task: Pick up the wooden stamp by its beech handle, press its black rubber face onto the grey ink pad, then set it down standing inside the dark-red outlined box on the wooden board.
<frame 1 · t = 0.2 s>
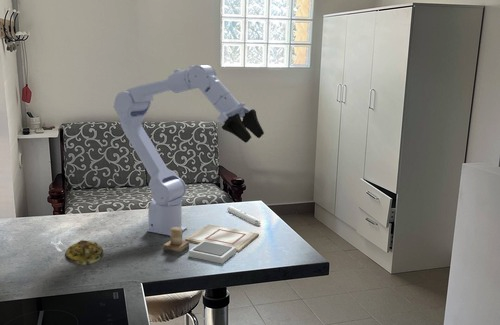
hand: (255, 137, 130), 31 cm above the counter, tool tilted 45°, fingers open, 7 cm apart
stamp: (176, 250, 133), on the counter
ink pad: (212, 254, 131), on the counter
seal: (85, 255, 129), on the counter
marker: (244, 219, 161), on the counter
wooden board: (222, 238, 143), on the counter
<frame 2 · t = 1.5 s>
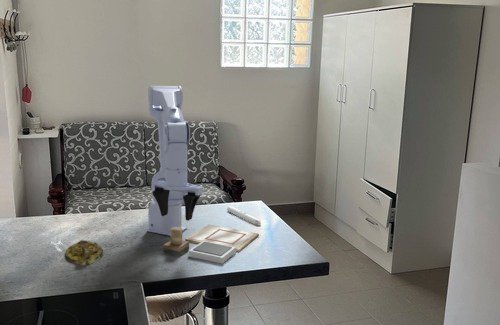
hand: (176, 217, 131), 9 cm above the counter, tool pointing down, fingers open, 7 cm apart
nothing on the counter moved.
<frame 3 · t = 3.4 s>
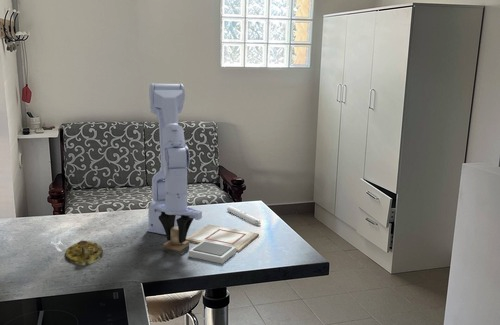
hand: (176, 240, 132), 3 cm above the counter, tool pointing down, fingers closed on stamp, 3 cm apart
stamp: (176, 250, 133), on the counter, touching gripper
everything else where it was.
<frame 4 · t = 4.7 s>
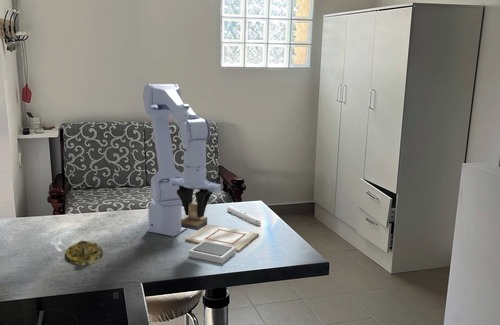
hand: (194, 215, 130), 10 cm above the counter, tool pointing down, fingers closed on stamp, 3 cm apart
stamp: (194, 226, 130), point 8 cm above the counter, touching gripper
everything else where it was.
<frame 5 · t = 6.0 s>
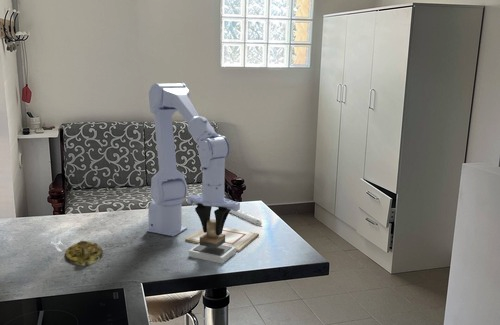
hand: (212, 232, 130), 6 cm above the counter, tool pointing down, fingers closed on stamp, 3 cm apart
stamp: (212, 243, 130), point 3 cm above the counter, touching gripper
everything else where it was.
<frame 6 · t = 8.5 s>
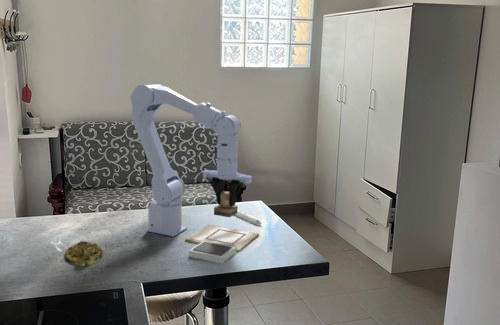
hand: (226, 204, 140), 10 cm above the counter, tool pointing down, fingers closed on stamp, 3 cm apart
stamp: (225, 213, 141), point 8 cm above the counter, touching gripper
everything else where it was.
when the fingers open (4 cm above the counter, at t = 10.5 s): stamp stays where it is, resting on wooden board.
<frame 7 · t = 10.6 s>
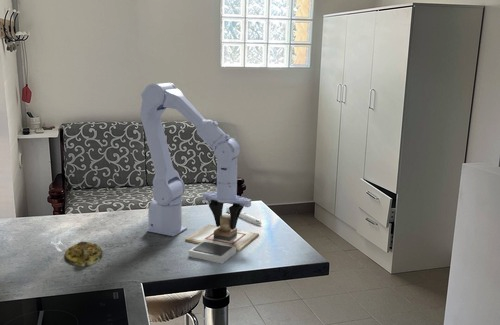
hand: (226, 227, 142), 4 cm above the counter, tool pointing down, fingers open, 4 cm apart
stamp: (225, 236, 142), point 1 cm above the counter, touching wooden board
everything else where it was.
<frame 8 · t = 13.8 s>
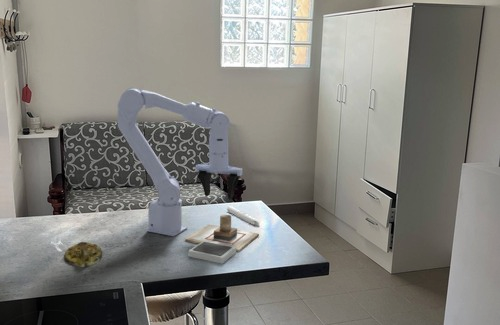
hand: (218, 196, 148), 10 cm above the counter, tool pointing down, fingers open, 7 cm apart
at the end: stamp 0.3 cm from the target spot on the wooden board, point 0.7 cm above the wooden board's base; stamp tilted 0°; the gripper is holding nothing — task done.
